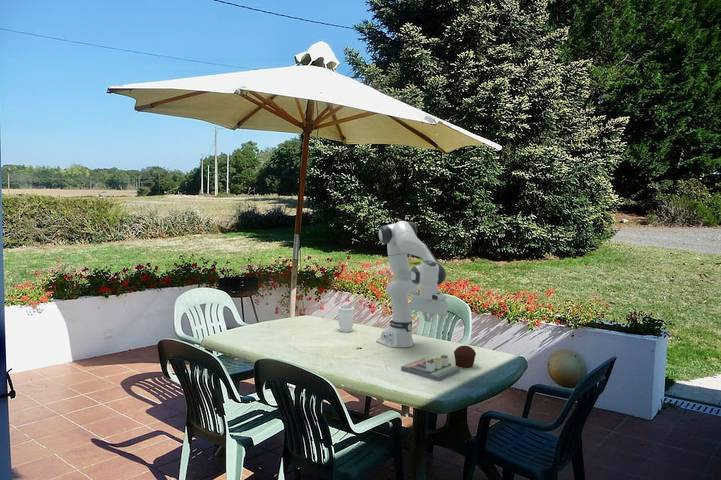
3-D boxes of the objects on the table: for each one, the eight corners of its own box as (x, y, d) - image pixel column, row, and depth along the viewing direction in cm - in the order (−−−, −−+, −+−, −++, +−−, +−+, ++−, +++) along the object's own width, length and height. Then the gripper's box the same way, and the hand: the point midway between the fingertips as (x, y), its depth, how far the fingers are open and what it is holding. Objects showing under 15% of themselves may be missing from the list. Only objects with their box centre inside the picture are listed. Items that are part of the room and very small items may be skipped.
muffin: (460, 360, 278) (460, 342, 277) (479, 365, 271) (480, 346, 270) (449, 366, 268) (449, 346, 268) (468, 370, 261) (469, 351, 261)
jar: (336, 329, 340) (336, 306, 339) (351, 328, 344) (351, 305, 342) (340, 333, 330) (340, 309, 329) (356, 332, 333) (356, 308, 332)
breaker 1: (425, 370, 253) (426, 361, 252) (429, 369, 255) (429, 359, 255) (431, 372, 251) (431, 362, 250) (434, 370, 253) (435, 361, 253)
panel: (401, 370, 260) (401, 364, 260) (423, 361, 274) (423, 356, 274) (438, 381, 246) (438, 375, 245) (459, 371, 260) (460, 366, 260)
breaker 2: (439, 364, 261) (440, 355, 261) (443, 363, 264) (443, 354, 263) (444, 366, 259) (445, 357, 259) (448, 364, 262) (448, 355, 261)
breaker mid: (433, 367, 257) (433, 358, 257) (436, 366, 259) (437, 357, 259) (438, 369, 255) (438, 359, 255) (441, 367, 257) (442, 358, 257)
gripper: (407, 291, 263) (406, 318, 264) (442, 297, 250) (441, 326, 251) (415, 290, 268) (414, 316, 269) (449, 296, 254) (448, 324, 255)
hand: (427, 321), depth 260 cm, fingers closed
